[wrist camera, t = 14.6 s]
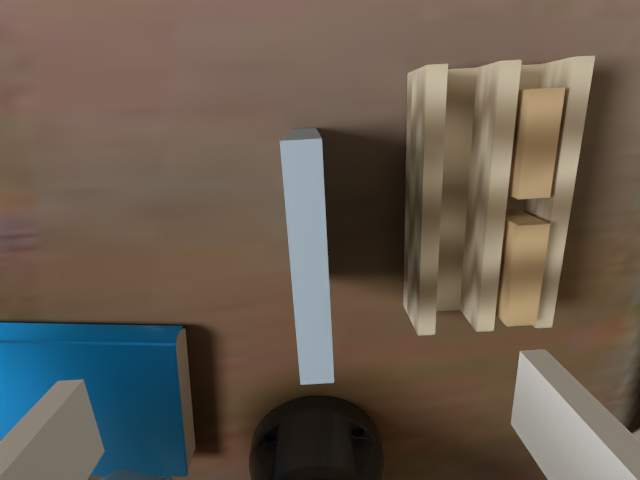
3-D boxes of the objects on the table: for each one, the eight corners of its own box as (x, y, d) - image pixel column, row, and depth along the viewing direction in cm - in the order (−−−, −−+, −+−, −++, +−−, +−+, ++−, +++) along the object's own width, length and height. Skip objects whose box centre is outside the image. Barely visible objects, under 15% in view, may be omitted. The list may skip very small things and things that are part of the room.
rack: (519, 298, 39) (551, 327, 34) (403, 305, 39) (418, 335, 34) (548, 65, 32) (595, 55, 27) (407, 73, 32) (426, 64, 27)
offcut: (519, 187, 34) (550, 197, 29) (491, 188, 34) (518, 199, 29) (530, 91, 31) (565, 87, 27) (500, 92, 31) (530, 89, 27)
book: (188, 476, 41) (-54, 481, 40) (199, 443, 45) (-21, 446, 44) (173, 338, 35) (-109, 339, 34) (187, 315, 39) (-65, 315, 38)
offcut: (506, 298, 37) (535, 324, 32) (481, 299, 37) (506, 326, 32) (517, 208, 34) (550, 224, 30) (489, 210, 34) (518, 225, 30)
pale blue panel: (323, 274, 38) (334, 382, 22) (303, 275, 38) (300, 384, 22) (315, 127, 33) (321, 138, 18) (293, 129, 33) (279, 140, 18)
